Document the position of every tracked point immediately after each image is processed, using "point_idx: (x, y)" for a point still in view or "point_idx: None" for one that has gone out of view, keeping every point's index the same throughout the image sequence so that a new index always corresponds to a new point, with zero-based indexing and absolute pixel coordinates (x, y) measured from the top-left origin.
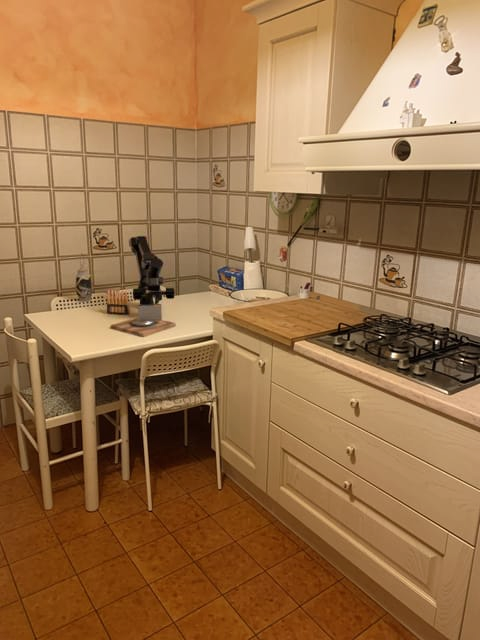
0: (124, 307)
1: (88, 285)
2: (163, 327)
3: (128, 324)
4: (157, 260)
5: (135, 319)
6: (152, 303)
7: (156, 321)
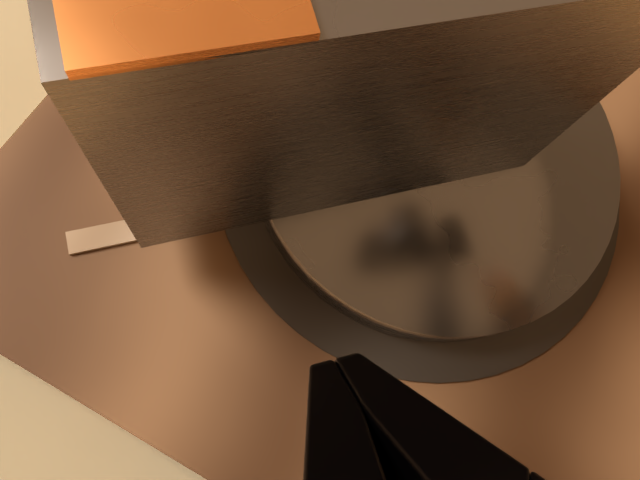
0: None
1: None
2: None
3: (613, 129)
4: None
5: (584, 191)
6: (456, 441)
7: (257, 330)
